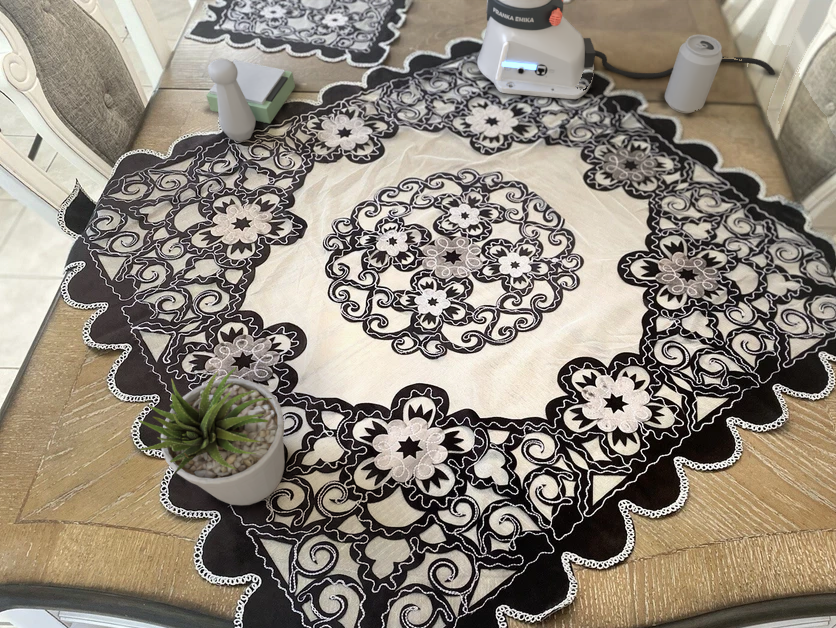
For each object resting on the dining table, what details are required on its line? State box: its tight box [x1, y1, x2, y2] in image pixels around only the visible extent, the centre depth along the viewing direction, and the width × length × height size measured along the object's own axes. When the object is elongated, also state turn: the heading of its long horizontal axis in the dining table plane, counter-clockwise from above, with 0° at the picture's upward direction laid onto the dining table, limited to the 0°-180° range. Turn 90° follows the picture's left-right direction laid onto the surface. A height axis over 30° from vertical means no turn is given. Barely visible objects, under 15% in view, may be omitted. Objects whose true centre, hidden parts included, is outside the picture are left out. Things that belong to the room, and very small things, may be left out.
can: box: [664, 34, 723, 114], centre depth 122 cm, size 8×8×12 cm
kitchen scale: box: [206, 58, 296, 124], centre depth 118 cm, size 11×11×4 cm
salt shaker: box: [207, 58, 256, 143], centre depth 109 cm, size 6×6×13 cm
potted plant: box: [138, 366, 286, 506], centre depth 73 cm, size 13×14×20 cm
